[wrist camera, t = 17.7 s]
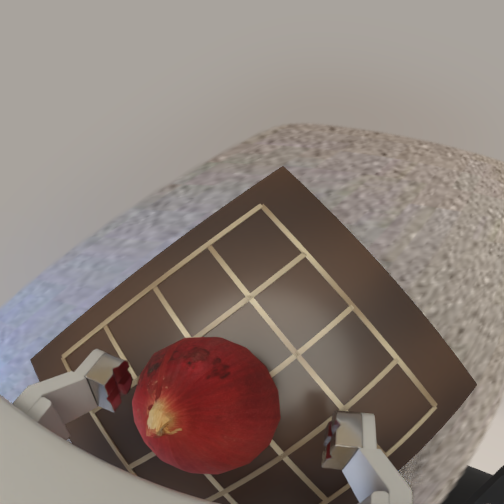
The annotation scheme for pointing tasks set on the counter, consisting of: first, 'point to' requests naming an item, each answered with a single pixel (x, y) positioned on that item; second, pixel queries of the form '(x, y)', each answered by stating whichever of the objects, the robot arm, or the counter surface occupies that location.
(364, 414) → the robot arm
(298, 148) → the counter surface
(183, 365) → the onion
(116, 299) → the grid board
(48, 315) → the counter surface
